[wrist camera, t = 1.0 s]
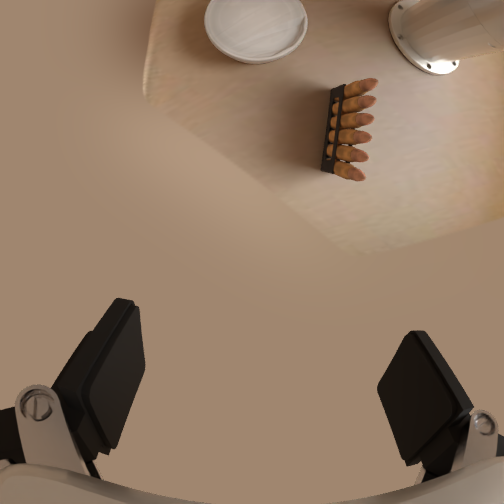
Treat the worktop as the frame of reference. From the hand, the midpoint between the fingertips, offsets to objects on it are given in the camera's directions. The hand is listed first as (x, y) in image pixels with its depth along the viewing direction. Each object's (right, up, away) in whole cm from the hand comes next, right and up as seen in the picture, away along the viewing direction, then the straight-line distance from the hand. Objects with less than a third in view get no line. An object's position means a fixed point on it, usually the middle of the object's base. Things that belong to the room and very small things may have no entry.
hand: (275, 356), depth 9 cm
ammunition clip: (+9, +18, +23) cm, 31 cm away
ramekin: (0, +30, +18) cm, 35 cm away
